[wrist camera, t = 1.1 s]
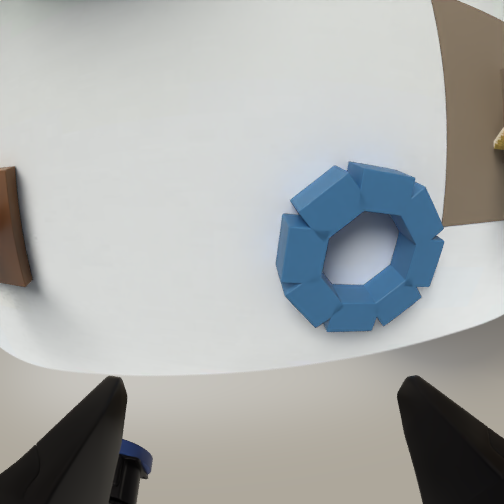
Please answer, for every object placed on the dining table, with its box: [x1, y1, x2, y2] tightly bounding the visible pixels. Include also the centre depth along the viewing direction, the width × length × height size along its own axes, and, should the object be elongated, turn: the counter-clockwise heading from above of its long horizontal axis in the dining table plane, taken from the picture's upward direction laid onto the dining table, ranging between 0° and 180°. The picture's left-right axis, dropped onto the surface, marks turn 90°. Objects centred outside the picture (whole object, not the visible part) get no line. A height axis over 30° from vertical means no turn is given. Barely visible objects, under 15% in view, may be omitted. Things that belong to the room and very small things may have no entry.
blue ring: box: [276, 162, 444, 332], centre depth 18 cm, size 11×11×2 cm
